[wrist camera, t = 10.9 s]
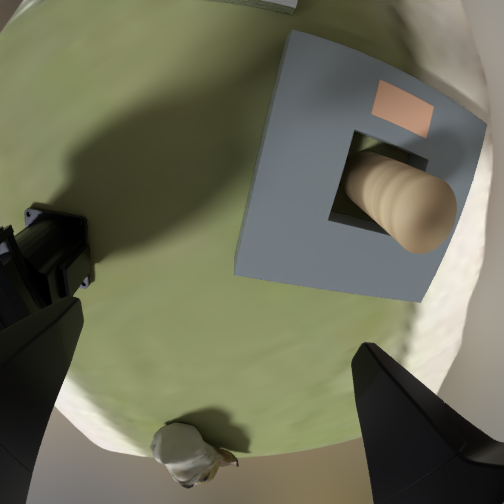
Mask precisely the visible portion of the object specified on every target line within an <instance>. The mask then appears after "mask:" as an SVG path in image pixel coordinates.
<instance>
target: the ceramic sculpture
mask: <svg viewBox="0 0 504 504" xmlns="http://www.w3.org/2000/svg"><path fill="white" fill-rule="evenodd" d="M150 448H151V450H152V453H153V456H154V458H155V459H156V461H158V462H160V463H162V464H165V465H166V467H167V469H168V470H169V472H170V473H171V475H172V477H173V479H174V480H175V481H176V482H178V483H179V484H181V485H182V486H183V487H185V488H191V487H193V485H194V484H205V483H208V482H209V481H211V480H212V479H213V478H214V476H215V474H216V472H217V470H218V468H219V467H220V466H221V467H224V466H228V465H232V466H237V467H238V466H239V465H238V460H237V458H236V457H235V456H234V455H233V454H232V453H231V452H229V451H227V450H224V449H220V448H214V447H212V446H211V445H209V444H208V443H206V442H204V441H203V439H202V436H201V435H200V433H199V432H198V430H197V429H196V428H195V427H194V426H192V425H188V424H183V423H172V424H170V425H166V426H164V427H162V428H160V429H159V430H158V431H157V432H156V433H155V435H154V437H153V440H152V443H151V446H150Z"/></svg>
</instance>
